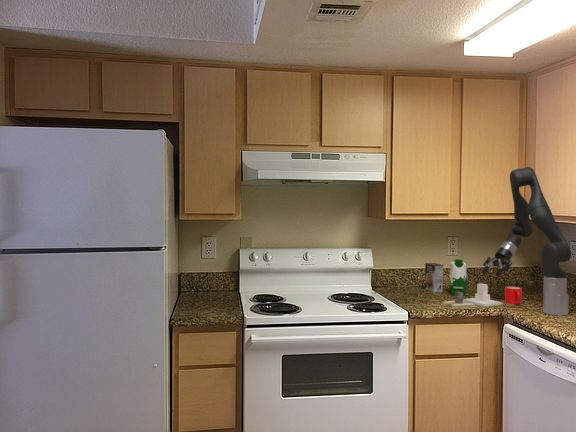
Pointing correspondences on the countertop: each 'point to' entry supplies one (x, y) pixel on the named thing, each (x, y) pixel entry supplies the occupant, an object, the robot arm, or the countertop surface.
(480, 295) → the white stepped block
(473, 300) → the tile
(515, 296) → the mug
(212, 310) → the countertop surface
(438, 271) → the coffee box
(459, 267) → the milk carton
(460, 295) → the post stand
